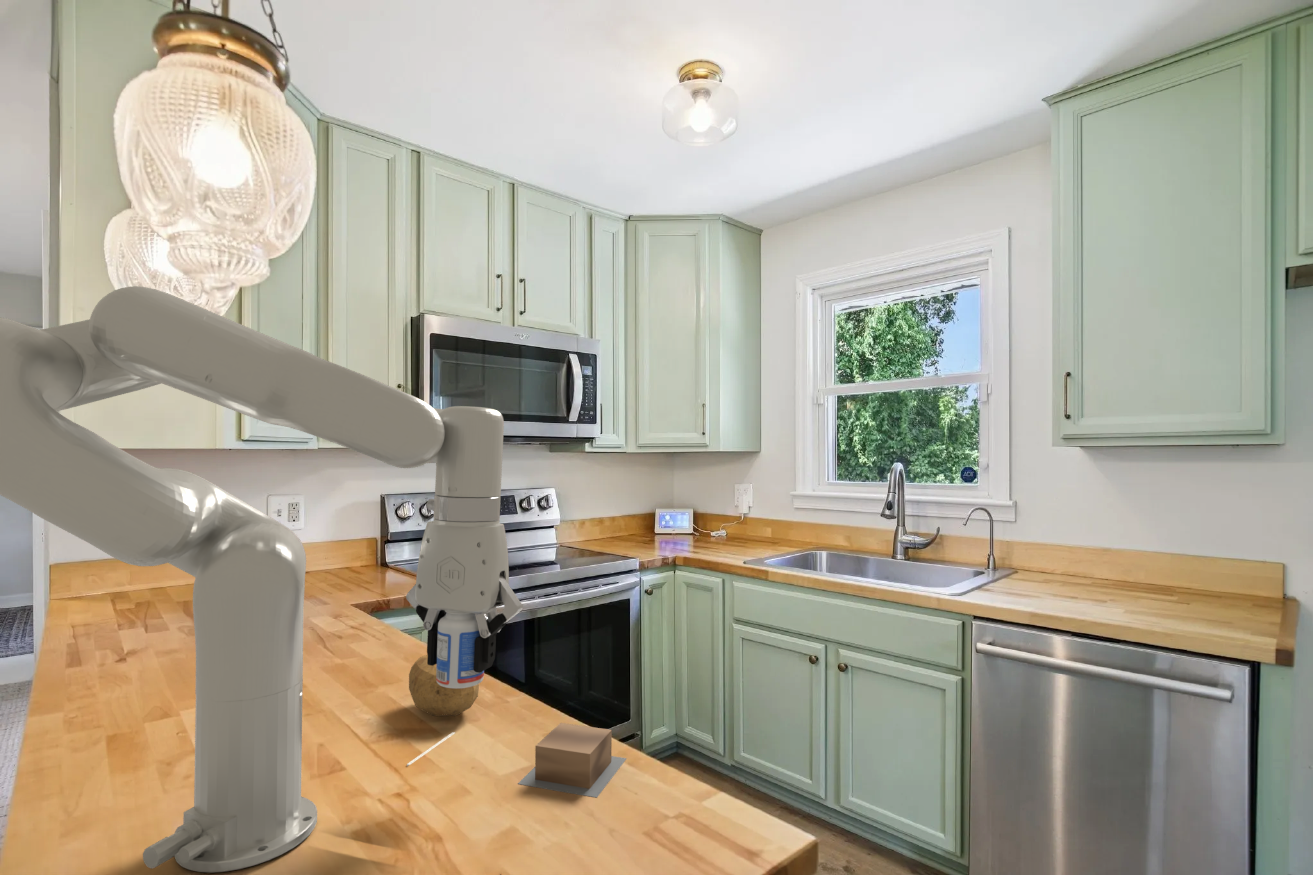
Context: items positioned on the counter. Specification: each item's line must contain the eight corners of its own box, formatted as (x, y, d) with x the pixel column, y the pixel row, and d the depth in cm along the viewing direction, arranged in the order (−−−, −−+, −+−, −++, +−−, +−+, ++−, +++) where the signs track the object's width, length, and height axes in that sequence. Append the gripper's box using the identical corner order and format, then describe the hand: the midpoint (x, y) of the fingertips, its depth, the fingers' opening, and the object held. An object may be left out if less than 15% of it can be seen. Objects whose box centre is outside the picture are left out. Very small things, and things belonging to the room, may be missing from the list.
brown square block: (589, 788, 78) (590, 753, 78) (535, 779, 80) (535, 745, 80) (611, 761, 85) (611, 729, 85) (560, 753, 87) (560, 722, 87)
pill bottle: (488, 674, 82) (491, 594, 82) (477, 690, 77) (481, 603, 77) (442, 673, 82) (446, 592, 82) (429, 688, 77) (433, 602, 77)
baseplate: (596, 806, 76) (596, 797, 76) (517, 792, 79) (517, 783, 79) (626, 766, 86) (626, 758, 86) (554, 754, 89) (554, 747, 89)
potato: (432, 737, 94) (433, 679, 94) (394, 707, 104) (394, 655, 104) (496, 718, 100) (496, 664, 100) (453, 692, 111) (454, 643, 111)
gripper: (385, 508, 79) (377, 665, 78) (516, 518, 74) (509, 685, 73) (425, 505, 86) (418, 648, 85) (547, 513, 81) (540, 665, 80)
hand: (460, 664), depth 79 cm, fingers closed on pill bottle, 5 cm apart
